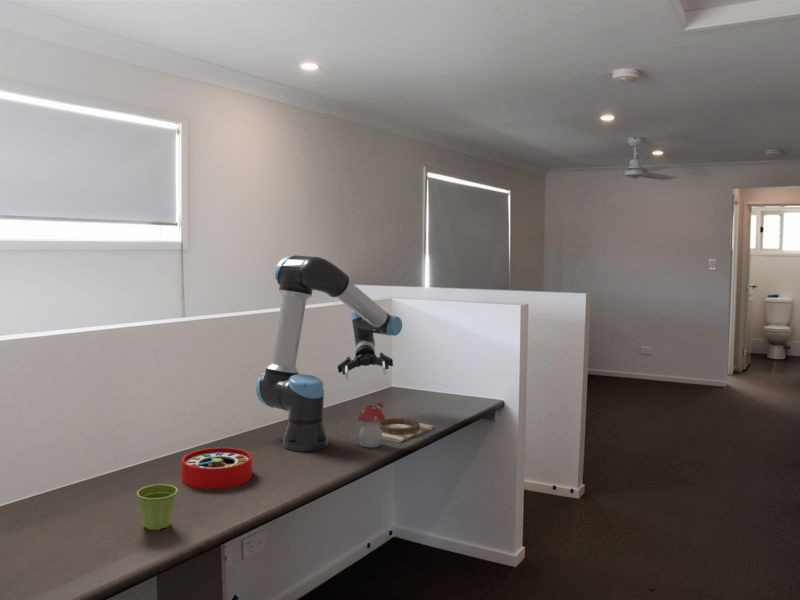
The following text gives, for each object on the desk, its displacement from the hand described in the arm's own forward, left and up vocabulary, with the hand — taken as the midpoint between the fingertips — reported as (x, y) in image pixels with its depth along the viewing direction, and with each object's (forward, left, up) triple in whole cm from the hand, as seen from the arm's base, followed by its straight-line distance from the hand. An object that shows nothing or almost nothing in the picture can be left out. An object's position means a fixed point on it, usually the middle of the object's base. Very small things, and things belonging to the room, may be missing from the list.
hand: (365, 373), depth 249 cm
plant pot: (-63, -69, -23) cm, 96 cm away
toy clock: (-50, -35, -23) cm, 65 cm away
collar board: (+13, +5, -23) cm, 27 cm away
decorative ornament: (0, -11, -23) cm, 26 cm away
